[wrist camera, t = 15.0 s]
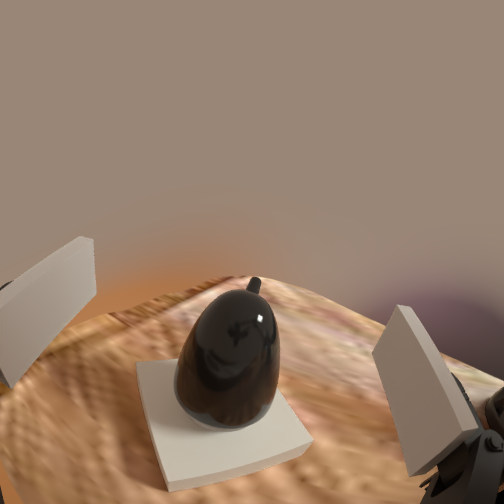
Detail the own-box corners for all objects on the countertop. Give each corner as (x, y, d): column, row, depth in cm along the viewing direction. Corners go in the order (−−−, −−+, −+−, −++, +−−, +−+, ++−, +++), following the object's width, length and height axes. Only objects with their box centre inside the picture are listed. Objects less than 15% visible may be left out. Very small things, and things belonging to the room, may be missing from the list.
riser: (246, 368, 40) (252, 349, 38) (301, 455, 27) (313, 440, 26) (137, 381, 32) (135, 361, 31) (168, 492, 20) (168, 481, 18)
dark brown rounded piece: (270, 387, 32) (311, 283, 26) (254, 457, 23) (307, 355, 17) (192, 362, 33) (208, 253, 28) (157, 424, 24) (157, 307, 18)
